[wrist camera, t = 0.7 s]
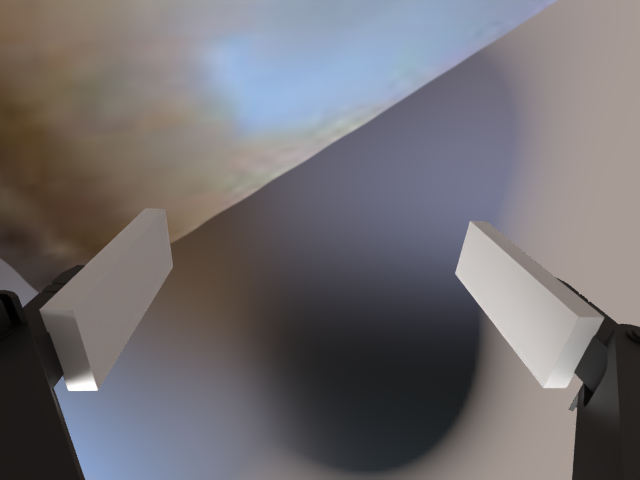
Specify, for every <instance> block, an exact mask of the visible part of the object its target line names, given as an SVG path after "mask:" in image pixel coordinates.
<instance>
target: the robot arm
mask: <svg viewBox="0 0 640 480" xmlns="http://www.w3.org/2000/svg"><path fill="white" fill-rule="evenodd" d="M172 267H173V264H172V257H171V249H170V242H169V234H168V227H167V220H166V213H165V209H149V208H145V209H144V210H143V211H142V212H141V213H140V214H139V215H138V216H137V217H136V218H135V219H134V220H133V221H132V222H131V223H130V224H129V225H128V226H127V227H126V228H125V229H123V230H122V231H121V232H120V233H119V234H118V235H117V236H116V237H115V238H114V239H113V240H112V241H111V242H110V243H109V244H108V245H107V246H106V247H105V248H104V249H103V250H101V251H100V252H99V253H98V254H97V255H96V256H95V257H94V258H93V259H92V260H91V261H90V262H89V263H88V264H87V265H77V266H75V267H73V268H71V269H69V270H67V271H65V272H63V273H61V274H60V275H59V276H58V277H57V278H56V279H55V280H53V281H52V282H51V285H48V286H47V287H46V288H44V289H43V290H42V293H39V294H38V295H37V296H35V298H33V299H32V300H31V301H30V302H29V303H28V304H27V305H25V306H24V307H23V308H22V305H21V303H20V300H19V298H18V296H17V295H16V294H15V293H14V292H11V291H6V290H0V480H85V478H84V475H83V472H82V469H81V466H80V463H79V460H78V457H77V455H76V452H75V449H74V446H73V443H72V440H71V437H70V434H69V431H68V428H67V425H66V422H65V419H64V416H63V413H62V411H61V408H60V405H59V402H58V399H57V396H56V393H55V391H54V386H55V385H56V384H57V382H58V381H59V380H60V378H61V377H62V376H63V377H64V380H65V382H66V385H67V388H68V390H69V391H74V390H75V391H77V390H79V391H80V390H84V391H85V390H98V389H99V388H100V386H101V384H102V383H103V381H104V379H105V378H106V376H107V374H108V373H109V371H110V369H111V368H112V366H113V365H114V363H115V361H116V359H117V358H118V356H119V354H120V353H121V351H122V350H123V348H124V346H125V345H126V343H127V341H128V340H129V338H130V336H131V335H132V333H133V332H134V330H135V328H136V327H137V325H138V323H139V322H140V320H141V318H142V317H143V315H144V314H145V312H146V310H147V309H148V307H149V305H150V304H151V302H152V300H153V299H154V297H155V295H156V294H157V292H158V290H159V288H160V287H161V285H162V284H163V282H164V281H165V279H166V277H167V276H168V274H169V272H170V271H171V269H172ZM455 274H456V275H457V277H458V278H459V279H460V280H461V282H462V283H463V284H464V285H465V287H466V288H467V289H468V291H469V292H470V293H471V295H472V296H473V297H474V299H475V300H476V301H477V302H478V304H479V305H480V306H481V308H482V309H483V310H484V311H485V313H486V314H487V315H488V317H489V318H490V319H491V321H492V322H493V323H494V325H495V326H496V327H497V328H498V330H499V331H500V332H501V334H502V335H503V336H504V337H505V339H506V340H507V341H508V343H509V344H510V345H511V346H512V348H513V349H514V350H515V352H516V353H517V354H518V356H519V357H520V358H521V360H522V361H523V362H524V363H525V365H526V366H527V367H528V369H529V370H530V371H531V372H532V374H533V375H534V376H535V378H536V379H537V380H538V382H539V383H540V384H541V385H542V387H543V388H567V386H568V384H569V382H570V381H571V379H572V377H573V375H574V373H575V374H576V375H577V376H578V377H579V378H580V379H581V380H582V381H583V385H582V387H581V388H580V390H579V392H578V393H577V395H576V397H575V399H574V400H573V402H572V404H571V406H570V408H569V410H571V411H573V410H574V409H575V407H577V420H576V433H575V447H574V461H573V475H572V480H640V327H638V326H634V325H630V324H629V325H628V324H617V323H616V322H615V321H614V320H613V319H611V318H610V317H609V316H608V315H606V314H605V313H604V312H603V311H601V310H600V309H599V308H597V307H596V306H595V305H594V304H592V303H591V302H588V300H587V299H586V298H585V297H584V296H582V295H581V294H579V293H578V292H577V291H576V290H575V289H574V288H572V287H571V286H570V285H569V284H567V283H565V282H564V281H561V280H560V279H558V278H556V277H554V276H553V275H552V274H550V273H549V272H548V271H547V270H546V269H544V268H543V267H542V266H541V265H539V264H538V263H537V262H536V261H534V260H533V259H532V258H531V257H530V256H528V255H527V254H526V253H525V252H523V251H522V250H521V249H520V248H518V247H517V246H516V245H515V244H514V243H512V242H511V241H510V240H508V239H507V238H506V237H505V236H504V235H502V234H501V233H500V232H499V231H498V230H496V229H495V228H494V227H493V226H491V225H490V224H489V223H488V222H485V221H482V222H481V221H470V224H469V227H468V230H467V234H466V237H465V241H464V245H463V248H462V252H461V255H460V259H459V262H458V266H457V269H456V273H455Z"/></svg>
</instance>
